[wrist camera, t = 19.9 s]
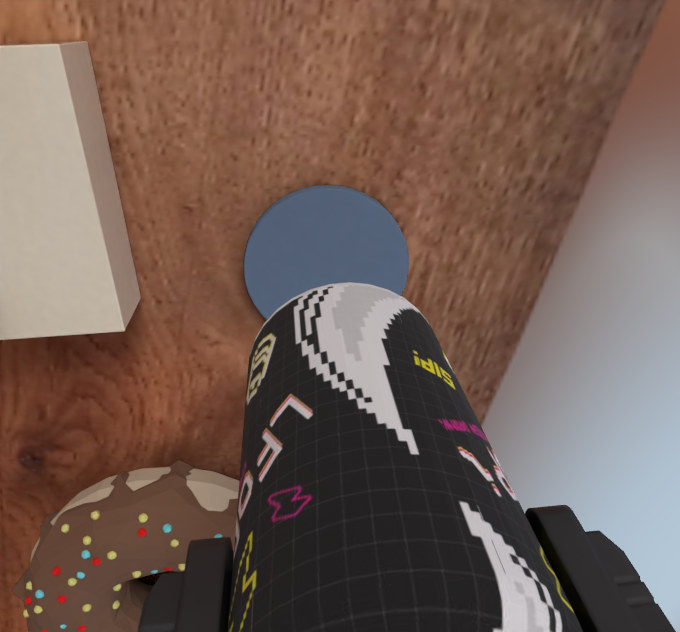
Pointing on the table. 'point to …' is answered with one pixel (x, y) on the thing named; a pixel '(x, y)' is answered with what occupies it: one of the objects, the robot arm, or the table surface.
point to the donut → (121, 545)
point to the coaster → (322, 246)
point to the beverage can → (375, 485)
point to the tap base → (58, 199)
